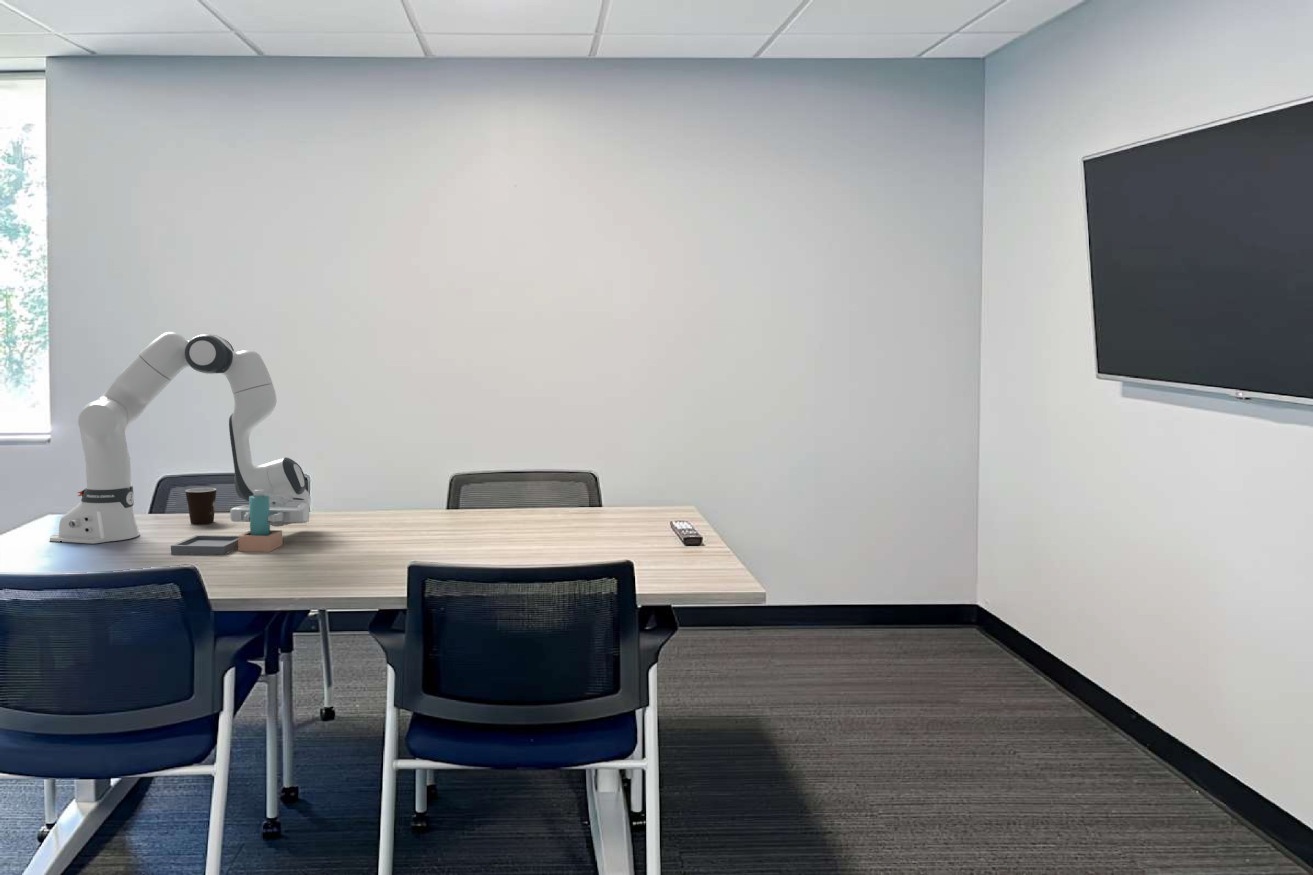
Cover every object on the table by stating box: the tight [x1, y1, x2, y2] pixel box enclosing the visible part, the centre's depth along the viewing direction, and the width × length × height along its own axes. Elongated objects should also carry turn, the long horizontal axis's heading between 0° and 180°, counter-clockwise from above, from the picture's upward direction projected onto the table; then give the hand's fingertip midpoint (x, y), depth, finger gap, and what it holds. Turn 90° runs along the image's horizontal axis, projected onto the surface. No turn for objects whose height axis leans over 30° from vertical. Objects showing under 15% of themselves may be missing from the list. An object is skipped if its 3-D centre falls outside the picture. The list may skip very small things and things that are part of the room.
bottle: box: [248, 490, 271, 536], centre depth 283 cm, size 5×5×16 cm
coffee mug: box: [184, 487, 217, 526], centre depth 320 cm, size 12×9×10 cm
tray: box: [170, 534, 239, 555], centre depth 282 cm, size 14×14×2 cm
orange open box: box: [237, 529, 283, 552], centre depth 284 cm, size 8×8×4 cm
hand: (258, 518), depth 282 cm, fingers closed on bottle, 5 cm apart
